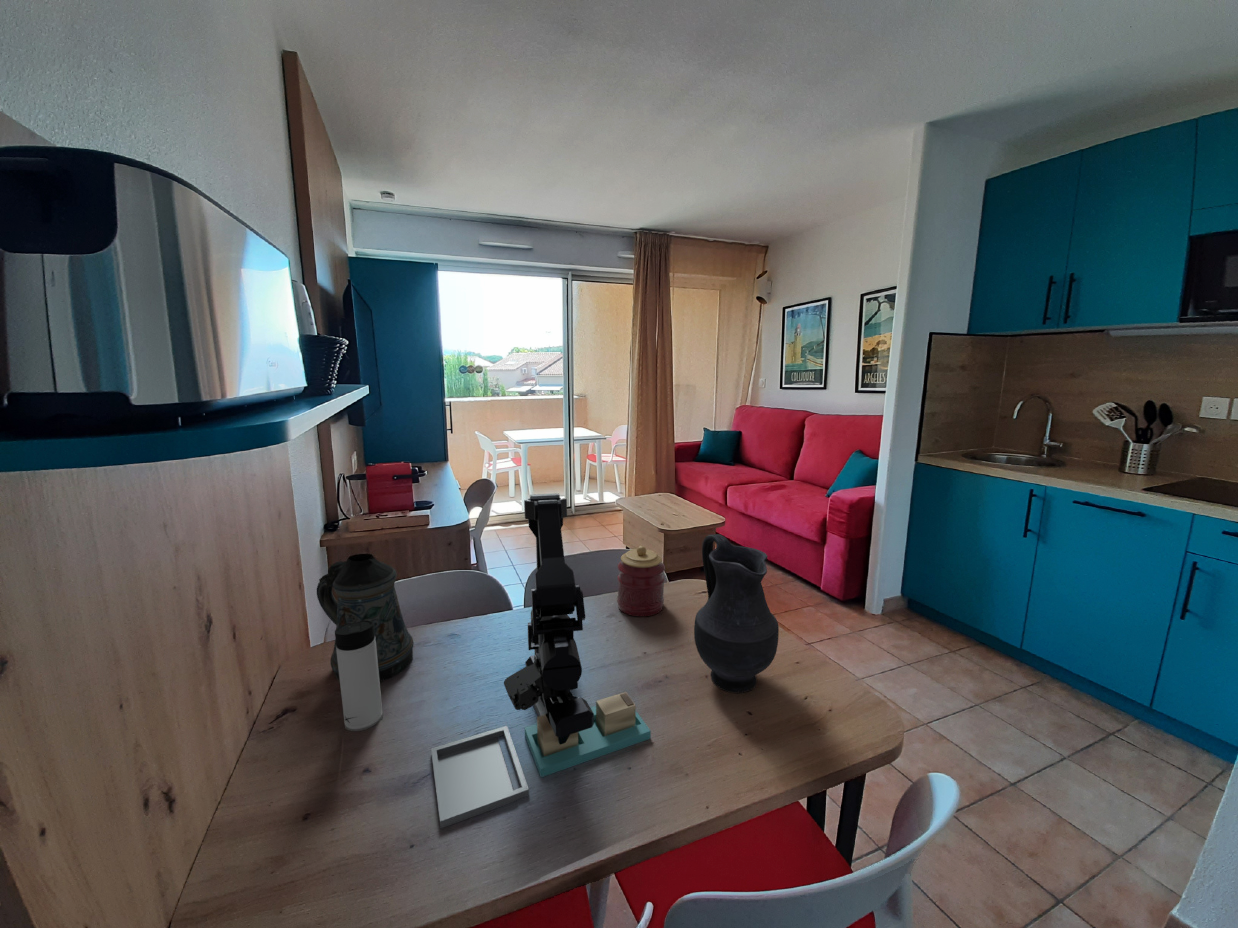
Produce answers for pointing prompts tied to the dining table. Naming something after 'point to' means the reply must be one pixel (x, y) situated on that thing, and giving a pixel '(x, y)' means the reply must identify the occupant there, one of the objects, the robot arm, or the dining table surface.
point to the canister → (640, 582)
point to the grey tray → (474, 776)
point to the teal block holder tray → (585, 745)
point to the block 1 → (552, 738)
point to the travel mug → (359, 675)
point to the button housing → (540, 707)
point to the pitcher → (735, 616)
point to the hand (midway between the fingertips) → (557, 733)
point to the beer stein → (368, 609)
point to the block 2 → (615, 714)
